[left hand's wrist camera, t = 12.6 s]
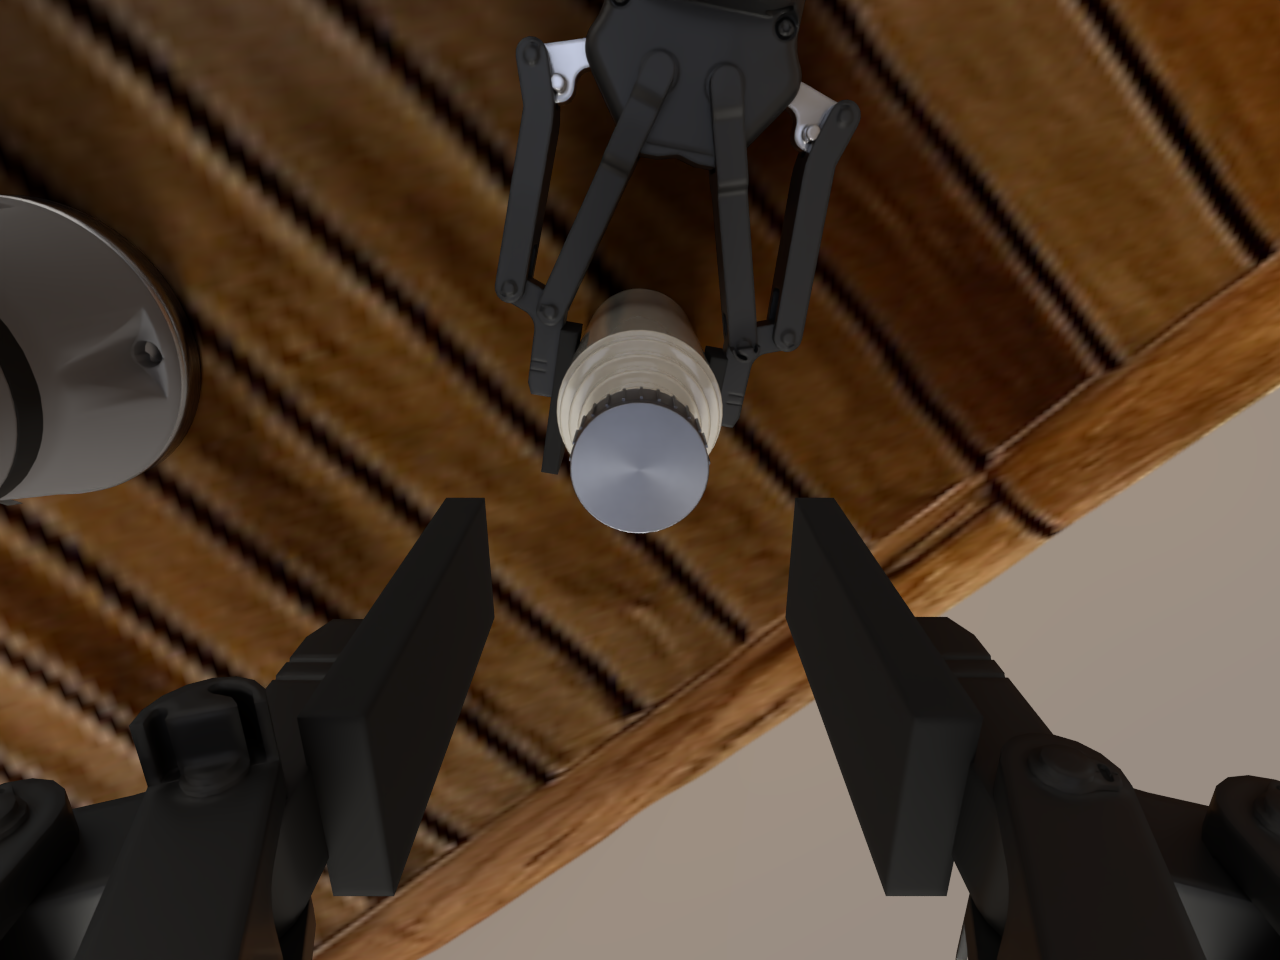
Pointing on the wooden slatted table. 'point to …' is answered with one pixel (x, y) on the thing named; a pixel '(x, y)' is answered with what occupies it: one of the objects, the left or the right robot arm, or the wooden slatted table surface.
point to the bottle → (639, 361)
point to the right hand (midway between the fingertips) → (621, 473)
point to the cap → (639, 461)
